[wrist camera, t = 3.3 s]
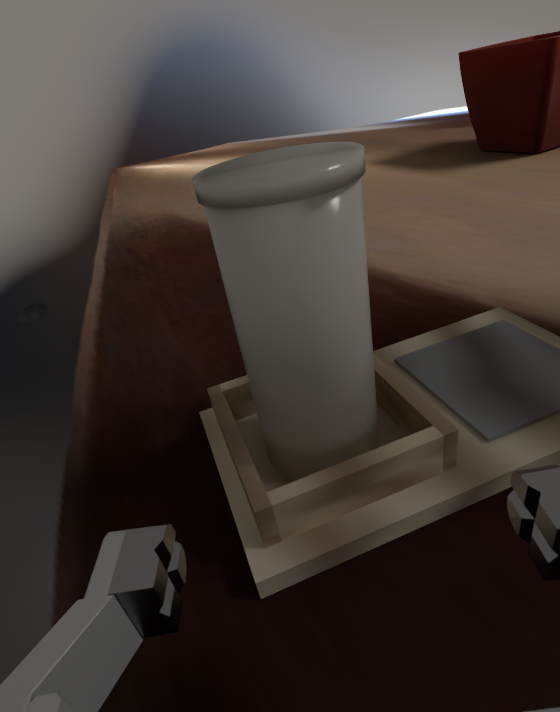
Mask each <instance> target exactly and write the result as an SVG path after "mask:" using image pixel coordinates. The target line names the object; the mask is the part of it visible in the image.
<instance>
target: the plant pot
mask: <svg viewBox="0 0 560 712" xmlns="http://www.w3.org/2000/svg"><path fill="white" fill-rule="evenodd" d="M459 61H460V70H461V76H462V83H463V88H464V93H465V98H466V103H467V107H468V111H469V115H470V119H471V122H472V125H473V129H474V132H475V135H476V138H477V141H478V143H479V146H480V149H481V150H488V151H504V152H522V153H539V152H542V151H545V150H549V149H552V148H555V147H558V146H560V31H558V32H553V33H547V34H542V35H536V36H531V37H527V38H522V39H517V40H512V41H507V42H503V43H498V44H494V45H489V46H485V47H481V48H477V49H472V50H468V51H464V52H460V53H459Z"/></svg>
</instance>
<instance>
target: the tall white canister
mask: <svg viewBox="0 0 560 712" xmlns="http://www.w3.org/2000/svg"><path fill="white" fill-rule="evenodd" d="M365 172H366V169H365V153H364V146H363V145H361V144H358V143H352V142H325V143H314V144H305V145H298V146H291V147H285V148H279V149H274V150H269V151H264V152H259V153H255V154H251V155H246V156H243V157H239V158H235V159H232V160H228V161H225V162H222V163H219V164H217V165H214V166H211V167H209V168H207V169H204V170H202V171H200V172H199V173H197V174H196V175H195V176H194V177H193V178H192V181H193V185H194V189H195V193H196V197H197V200H198V203H199V204H201V205H203V206H204V208H205V211H206V215H207V219H208V223H209V227H210V231H211V235H212V239H213V243H214V247H215V251H216V255H217V259H218V263H219V267H220V271H221V275H222V278H223V282H224V286H225V290H226V294H227V298H228V302H229V306H230V310H231V314H232V318H233V322H234V326H235V330H236V334H237V338H238V342H239V345H240V349H241V353H242V357H243V361H244V365H245V369H246V373H247V377H248V381H249V385H250V389H251V393H252V397H253V401H254V405H255V408H256V412H257V416H258V420H259V424H260V428H261V432H262V436H263V440H264V444H265V448H266V452H267V455H268V459H269V461H270V463H271V464H272V466H273V467H274V468H275V469H276V470H277V471H278V472H279V473H280V474H282V475H283V476H285V477H287V478H289V479H291V480H294V481H296V480H299V479H301V478H304V477H306V476H309V475H311V474H314V473H316V472H319V471H322V470H324V469H327V468H329V467H332V466H334V465H337V464H339V463H342V462H344V461H347V460H349V459H352V458H354V457H357V456H359V455H362V454H364V453H367V452H369V451H372V450H374V449H377V448H378V446H379V433H378V418H377V404H376V389H375V375H374V360H373V346H372V331H371V317H370V302H369V288H368V273H367V259H366V245H365V230H364V216H363V201H362V187H361V177H362V176H363V175H364V173H365Z"/></svg>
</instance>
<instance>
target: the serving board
mask: <svg viewBox="0 0 560 712" xmlns="http://www.w3.org/2000/svg"><path fill="white" fill-rule="evenodd" d="M373 360H374V375H375V389H376V404H377V418H378V433H379V446H378V448H377V449H374V450H372V451H369V452H367V453H364V454H362V455H359V456H357V457H354V458H352V459H349V460H347V461H344V462H342V463H339V464H337V465H334V466H332V467H329V468H327V469H324V470H322V471H319V472H316V473H314V474H311V475H309V476H306V477H304V478H301V479H299V480H296V481H294V480H291V479H289V478H287V477H285V476H283V475H282V474H280V473H279V472H278V471H277V470H276V469H275V468H274V467H273V466H272V464H271V463H270V461H269V459H268V455H267V452H266V448H265V444H264V440H263V436H262V432H261V428H260V424H259V420H258V416H257V412H256V408H255V405H254V401H253V397H252V393H251V389H250V385H249V381H248V377H247V375H246V376H243V377H240V378H237V379H234V380H231V381H228V382H225V383H222V384H219V385H216V386H213V387H210V388H207V390H208V393H209V397H210V400H211V403H212V406H213V407H212V408H210V409H207V410H204V411H201V412H199V413H200V416H201V419H202V422H203V425H204V428H205V431H206V434H207V437H208V440H209V443H210V446H211V450H212V453H213V456H214V459H215V462H216V465H217V468H218V471H219V474H220V477H221V480H222V483H223V486H224V489H225V492H226V495H227V498H228V501H229V504H230V507H231V510H232V513H233V516H234V519H235V522H236V525H237V529H238V532H239V535H240V538H241V541H242V544H243V547H244V550H245V553H246V556H247V559H248V562H249V565H250V568H251V571H252V574H253V577H254V580H255V583H256V586H257V589H258V592H259V595H260V598H261V599H262V598H265V597H267V596H269V595H271V594H274V593H276V592H278V591H280V590H282V589H285V588H287V587H289V586H291V585H294V584H296V583H298V582H300V581H302V580H305V579H307V578H309V577H311V576H314V575H316V574H318V573H320V572H323V571H325V570H327V569H329V568H331V567H334V566H336V565H338V564H340V563H343V562H345V561H347V560H349V559H351V558H354V557H356V556H358V555H360V554H363V553H365V552H367V551H369V550H372V549H374V548H376V547H378V546H380V545H383V544H385V543H387V542H389V541H392V540H394V539H396V538H398V537H401V536H403V535H405V534H407V533H409V532H412V531H414V530H416V529H418V528H421V527H423V526H425V525H427V524H429V523H432V522H434V521H436V520H438V519H441V518H443V517H445V516H447V515H450V514H452V513H454V512H456V511H458V510H461V509H463V508H465V507H467V506H470V505H472V504H474V503H476V502H478V501H481V500H483V499H485V498H487V497H490V496H492V495H494V494H496V493H499V492H501V491H503V490H505V489H507V488H510V487H512V485H511V484H510V479H511V475H512V474H513V472H514V471H519V470H526V469H532V468H538V467H544V466H550V465H559V464H560V337H559V336H557V335H555V334H553V333H551V332H549V331H547V330H545V329H543V328H541V327H539V326H537V325H535V324H533V323H531V322H529V321H527V320H525V319H523V318H521V317H519V316H517V315H515V314H513V313H511V312H509V311H507V310H505V309H503V308H501V307H499V308H496V309H493V310H490V311H487V312H484V313H481V314H478V315H476V316H473V317H470V318H467V319H464V320H461V321H458V322H456V323H453V324H450V325H447V326H444V327H441V328H438V329H436V330H433V331H430V332H427V333H424V334H421V335H418V336H416V337H413V338H410V339H407V340H404V341H401V342H398V343H396V344H393V345H390V346H387V347H384V348H381V349H378V350H375V351H373Z"/></svg>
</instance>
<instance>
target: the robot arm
mask: <svg viewBox="0 0 560 712" xmlns="http://www.w3.org/2000/svg"><path fill="white" fill-rule="evenodd" d="M510 484H511V485H512V487H513V488H514V490H513V491H512V492H511V493H510V494H509V495H508V500H507V508H508V513H509V518H510V520H511V523H512V525H513V527H514V529H515V531H516V533H517V535H518V536H519V537H520V538H522V539H523V540H525V541H527V542H528V543H530V547H529V553H528V554H529V556H530V557H531V559H532V561H533V563H534V564H535V566H536V568H537V570H538V571H539V573H540V575H541V576H542V578H543V580H544V581H548V580H557V579H560V464H559V465H550V466H544V467H538V468H532V469H526V470H519V471H514V472H513V474H512V475H511V479H510ZM175 535H176V532H175V530H174V528H173V527H172V525H171V524H169V525H161V526H153V527H145V528H136V529H129V530H122V531H114V532H108V534H107V535H106V537H105V538H104V539H103V542H102V545H101V549H100V552H99V555H98V558H97V561H96V564H95V567H94V570H93V573H92V576H91V579H90V582H89V585H88V588H87V591H86V594H85V597H84V599H80V600H77V601H76V602H75V603H74V605H73V606H72V607H71V608H70V609H69V610H68V611H67V612H66V613H65V614H64V616H63V617H62V618H61V619H60V620H59V621H58V622H57V623H56V624H55V625H54V627H53V628H52V629H51V630H50V631H49V632H48V633H47V634H46V635H45V636H44V638H43V639H42V640H41V641H40V642H39V643H38V644H37V645H36V646H35V648H34V649H33V650H32V651H31V652H30V653H29V654H28V655H27V656H26V657H25V659H24V660H23V661H22V662H21V663H20V664H19V665H18V666H17V667H16V668H15V670H14V671H13V672H12V673H11V674H10V675H9V676H8V677H7V678H6V679H5V681H4V682H3V683H2V684H1V685H0V712H98V711H99V709H100V707H101V706H102V704H103V703H104V701H105V700H106V698H107V696H108V695H109V693H110V692H111V690H112V688H113V687H114V685H115V684H116V682H117V680H118V679H119V677H120V676H121V674H122V673H123V671H124V669H125V668H126V666H127V665H128V663H129V661H130V660H131V658H132V657H133V655H134V654H135V652H136V650H137V649H138V647H139V646H140V644H141V642H142V641H143V639H142V638H145V637H151V636H157V635H163V634H169V633H175V632H178V630H179V623H180V616H181V609H182V601H181V599H180V597H179V595H178V593H179V591H180V590H181V589H182V587H183V586H184V585H185V579H186V558H185V553H184V550H183V548H182V545H181V544H180V543H178V542H176V541H175ZM525 712H560V707H557V708H549V709H541V710H533V711H525Z"/></svg>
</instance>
